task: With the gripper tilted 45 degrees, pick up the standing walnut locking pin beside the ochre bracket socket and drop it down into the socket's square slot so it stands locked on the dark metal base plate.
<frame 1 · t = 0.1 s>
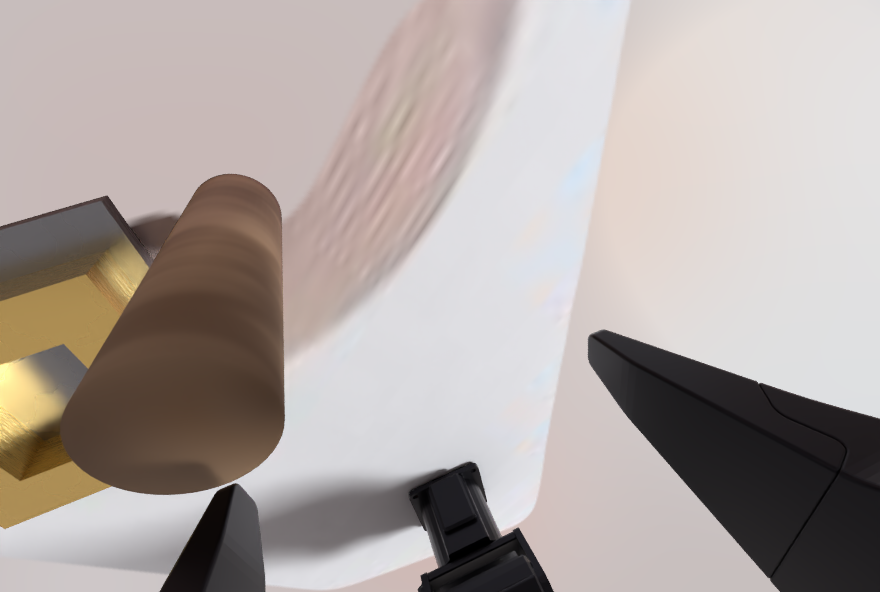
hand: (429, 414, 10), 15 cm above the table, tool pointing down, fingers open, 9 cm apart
pin: (237, 215, 20), on the table
socket: (70, 370, 21), on the table
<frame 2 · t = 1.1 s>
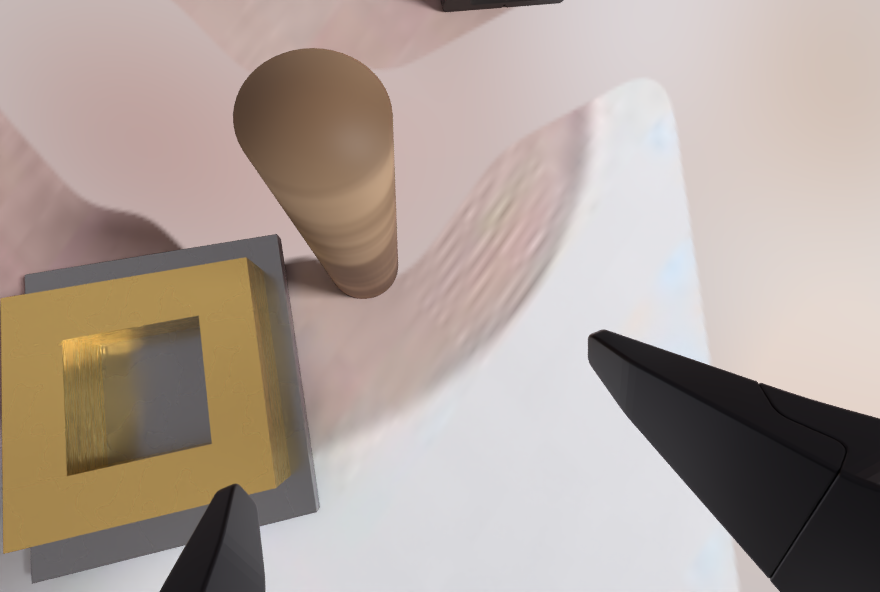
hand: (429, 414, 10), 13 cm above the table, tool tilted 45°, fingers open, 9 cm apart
pin: (364, 265, 24), on the table
socket: (175, 390, 22), on the table
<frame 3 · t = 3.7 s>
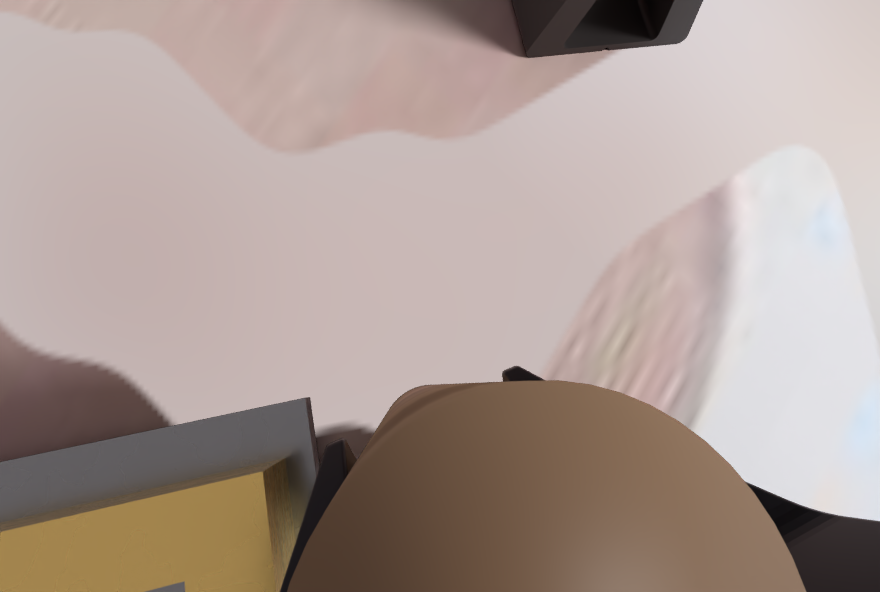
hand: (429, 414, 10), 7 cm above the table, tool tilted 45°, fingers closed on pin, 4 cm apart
phone stand: (589, 8, 22), on the table
pin: (431, 435, 16), on the table, touching gripper
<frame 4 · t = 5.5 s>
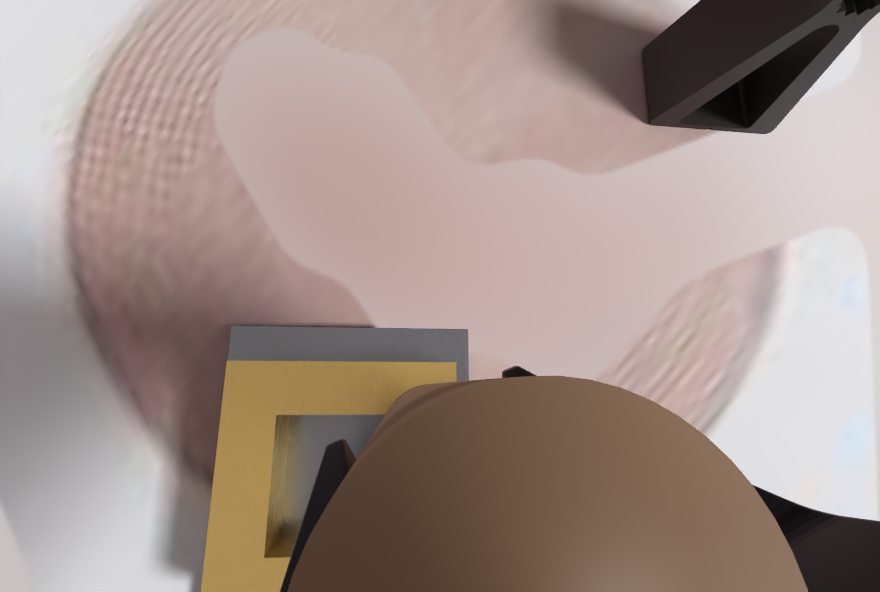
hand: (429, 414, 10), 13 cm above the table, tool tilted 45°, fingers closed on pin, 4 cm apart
phone stand: (701, 95, 29), on the table
pin: (431, 434, 16), point 6 cm above the table, touching gripper
socket: (347, 468, 22), on the table
when the fingers open (9 cm above the table, at t = 7.4 s): pin stays where it is, resting on socket.
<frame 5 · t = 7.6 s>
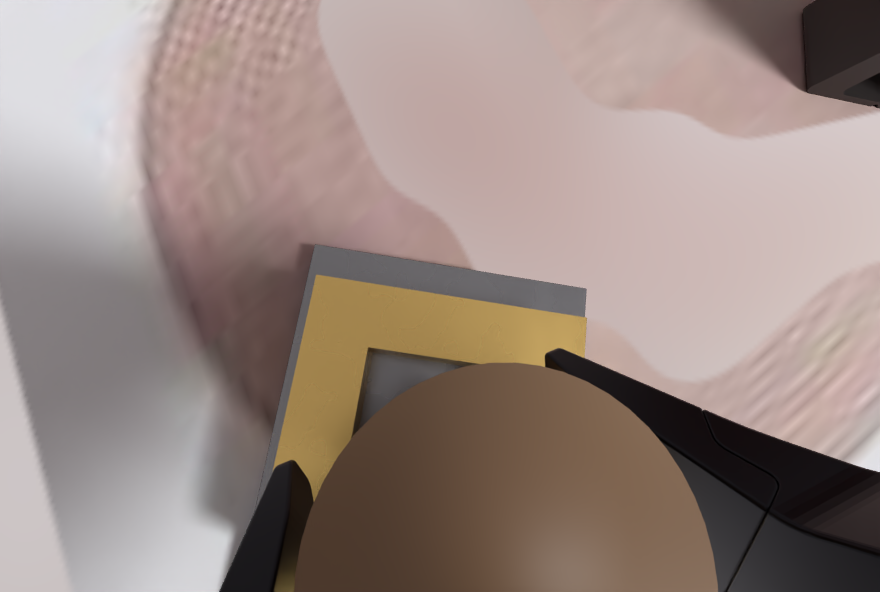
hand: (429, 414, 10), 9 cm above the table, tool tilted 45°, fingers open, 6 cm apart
phone stand: (865, 68, 25), on the table
pin: (430, 433, 17), point 1 cm above the table, touching socket
socket: (428, 430, 18), on the table
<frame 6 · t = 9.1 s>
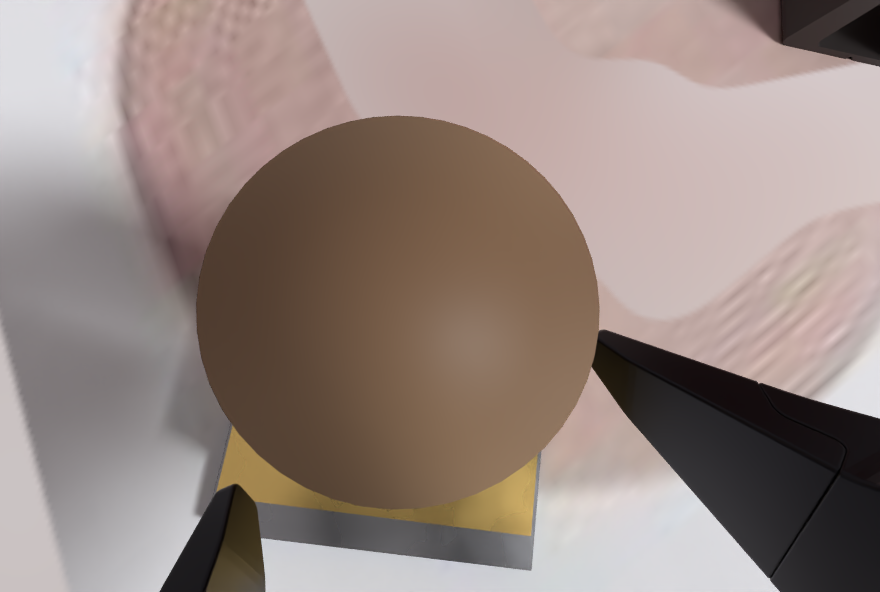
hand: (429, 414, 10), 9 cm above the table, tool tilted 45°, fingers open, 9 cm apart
phone stand: (842, 22, 26), on the table
pin: (402, 363, 18), point 1 cm above the table, touching socket
socket: (402, 362, 18), on the table
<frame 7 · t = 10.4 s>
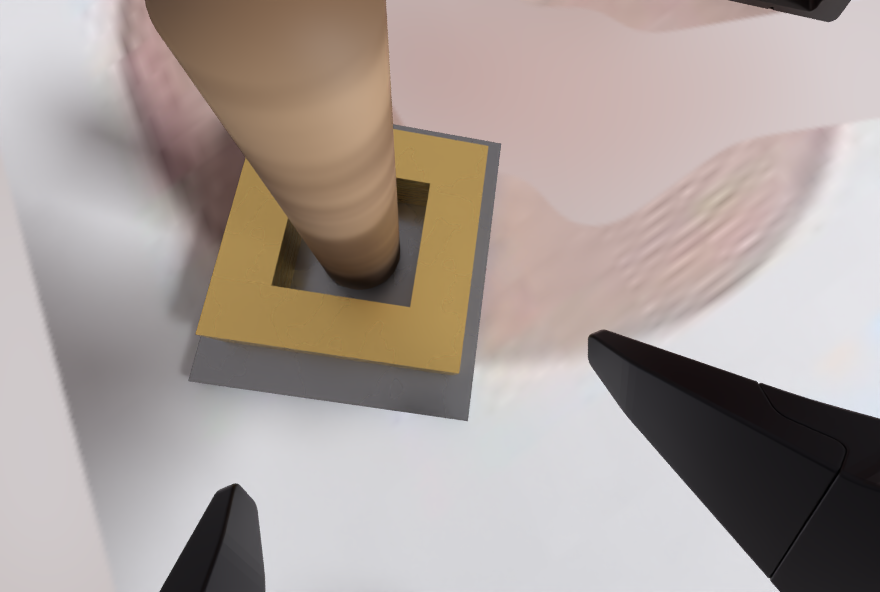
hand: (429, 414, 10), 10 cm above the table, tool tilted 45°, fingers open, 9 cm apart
pin: (360, 251, 21), point 1 cm above the table, touching socket
socket: (362, 255, 21), on the table
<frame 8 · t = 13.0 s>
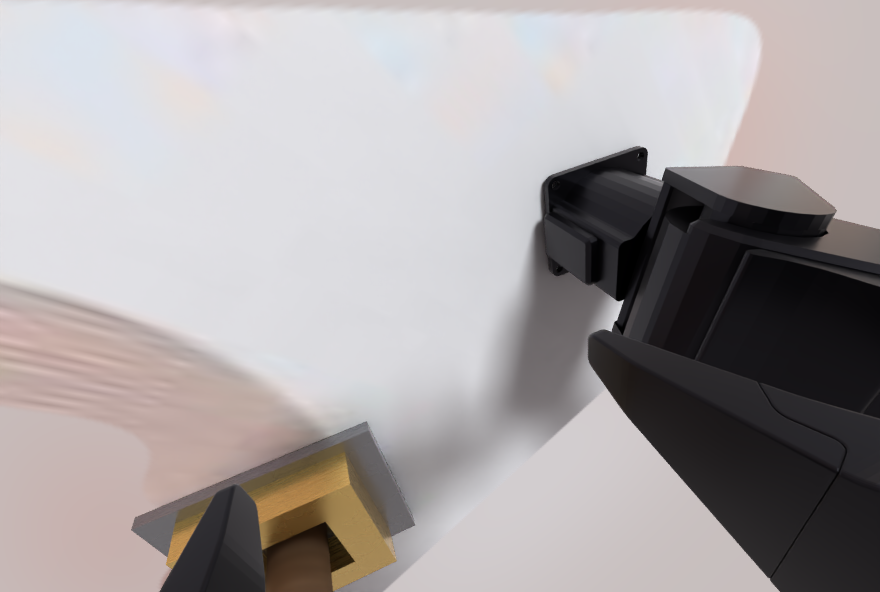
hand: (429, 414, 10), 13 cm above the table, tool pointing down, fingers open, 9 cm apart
pin: (297, 526, 29), point 1 cm above the table, touching socket
socket: (296, 516, 30), on the table
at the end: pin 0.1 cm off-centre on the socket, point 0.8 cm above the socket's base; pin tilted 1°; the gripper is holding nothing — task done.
